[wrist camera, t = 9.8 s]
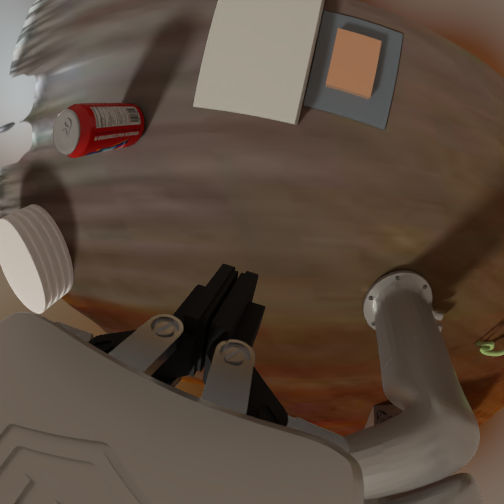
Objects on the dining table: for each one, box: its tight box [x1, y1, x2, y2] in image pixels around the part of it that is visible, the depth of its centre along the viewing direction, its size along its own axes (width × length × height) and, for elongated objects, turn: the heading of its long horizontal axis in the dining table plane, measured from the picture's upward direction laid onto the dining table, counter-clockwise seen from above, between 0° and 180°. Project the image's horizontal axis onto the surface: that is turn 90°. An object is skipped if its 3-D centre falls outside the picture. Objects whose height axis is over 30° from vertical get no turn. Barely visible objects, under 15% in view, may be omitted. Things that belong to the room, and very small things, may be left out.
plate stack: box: [0, 204, 73, 314], centre depth 57 cm, size 28×28×12 cm
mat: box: [304, 11, 403, 130], centre depth 29 cm, size 12×16×1 cm
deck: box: [193, 0, 325, 125], centre depth 29 cm, size 14×22×4 cm, turn 169°
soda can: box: [53, 103, 144, 158], centre depth 34 cm, size 8×8×15 cm
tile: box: [326, 28, 382, 99], centre depth 28 cm, size 6×9×2 cm, turn 168°
